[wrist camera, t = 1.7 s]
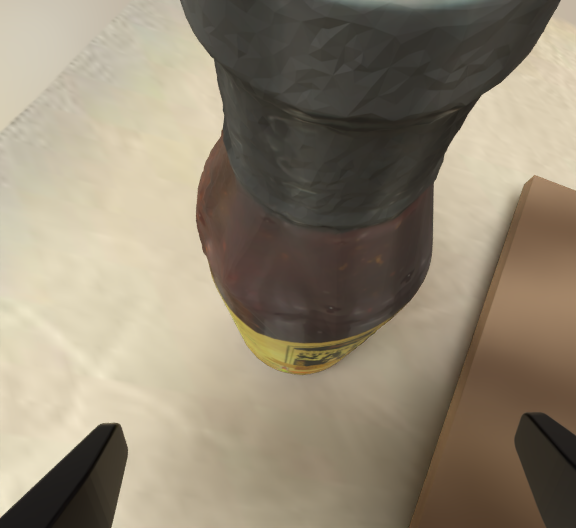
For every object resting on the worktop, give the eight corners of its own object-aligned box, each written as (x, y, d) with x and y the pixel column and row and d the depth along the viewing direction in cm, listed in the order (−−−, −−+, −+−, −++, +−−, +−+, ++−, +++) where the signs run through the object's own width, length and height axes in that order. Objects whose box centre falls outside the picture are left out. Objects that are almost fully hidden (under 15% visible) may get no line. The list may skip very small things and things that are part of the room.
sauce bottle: (304, 402, 21) (430, 475, 2) (216, 319, 22) (-216, -114, 3) (385, 307, 22) (910, -182, 3) (298, 234, 24) (327, -412, 5)
